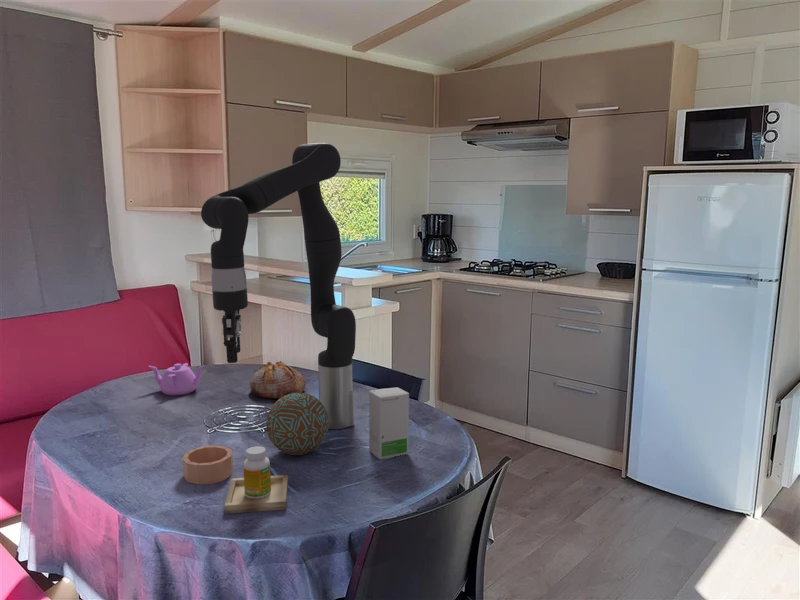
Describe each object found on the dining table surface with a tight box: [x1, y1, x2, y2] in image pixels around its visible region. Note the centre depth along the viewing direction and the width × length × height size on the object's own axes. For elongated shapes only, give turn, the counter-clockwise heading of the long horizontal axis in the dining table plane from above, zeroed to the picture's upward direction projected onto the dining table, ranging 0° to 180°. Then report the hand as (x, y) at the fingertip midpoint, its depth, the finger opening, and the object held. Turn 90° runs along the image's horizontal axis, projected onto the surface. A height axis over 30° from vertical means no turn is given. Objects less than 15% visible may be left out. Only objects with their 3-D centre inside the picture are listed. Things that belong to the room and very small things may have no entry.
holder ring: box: [182, 444, 234, 485], centre depth 142 cm, size 10×10×4 cm
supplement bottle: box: [242, 445, 271, 499], centre depth 131 cm, size 5×5×10 cm
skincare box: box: [368, 387, 410, 460], centre depth 153 cm, size 8×7×16 cm
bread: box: [249, 360, 306, 400], centre depth 200 cm, size 16×20×10 cm
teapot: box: [148, 362, 205, 396], centre depth 200 cm, size 12×14×9 cm
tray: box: [224, 474, 289, 515], centre depth 131 cm, size 12×12×2 cm
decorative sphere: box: [265, 392, 329, 456], centre depth 153 cm, size 15×15×15 cm
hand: (234, 357), depth 143 cm, fingers open, 8 cm apart
